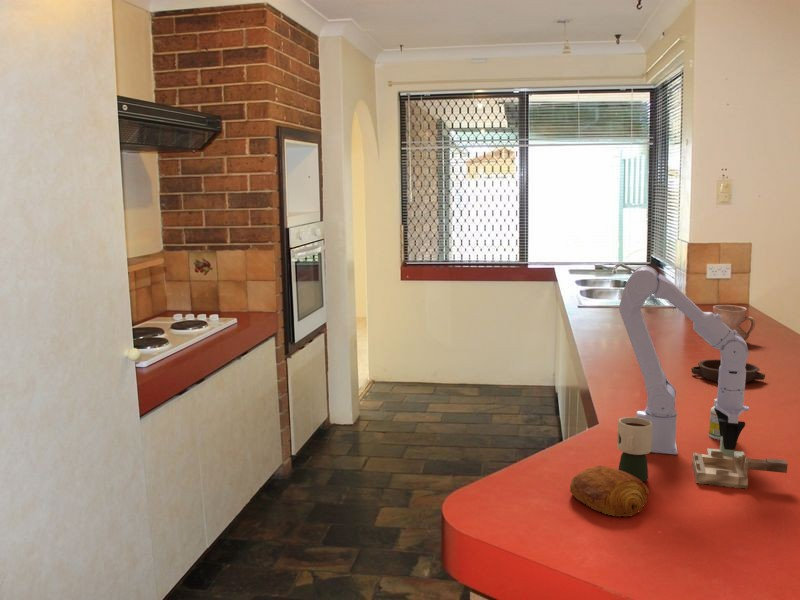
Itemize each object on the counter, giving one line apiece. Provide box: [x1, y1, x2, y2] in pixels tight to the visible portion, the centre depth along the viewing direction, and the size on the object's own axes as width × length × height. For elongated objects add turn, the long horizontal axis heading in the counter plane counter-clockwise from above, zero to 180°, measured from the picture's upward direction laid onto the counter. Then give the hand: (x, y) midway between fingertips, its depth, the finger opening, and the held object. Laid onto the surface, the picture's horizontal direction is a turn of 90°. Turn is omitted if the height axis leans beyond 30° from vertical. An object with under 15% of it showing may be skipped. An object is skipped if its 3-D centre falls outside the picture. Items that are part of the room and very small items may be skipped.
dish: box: [690, 358, 766, 384], centre depth 246 cm, size 18×22×5 cm
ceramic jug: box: [712, 304, 756, 342], centre depth 301 cm, size 18×14×14 cm
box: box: [691, 450, 749, 490], centre depth 166 cm, size 10×12×6 cm
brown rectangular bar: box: [746, 457, 788, 474], centre depth 160 cm, size 8×2×2 cm, turn 73°
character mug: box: [616, 416, 652, 482], centre depth 163 cm, size 11×7×13 cm, turn 151°
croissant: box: [569, 465, 650, 517], centre depth 152 cm, size 14×16×8 cm
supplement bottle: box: [708, 397, 721, 441], centre depth 190 cm, size 5×5×10 cm
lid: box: [706, 436, 746, 461], centre depth 176 cm, size 8×11×5 cm
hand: (727, 443), depth 178 cm, fingers open, 7 cm apart
